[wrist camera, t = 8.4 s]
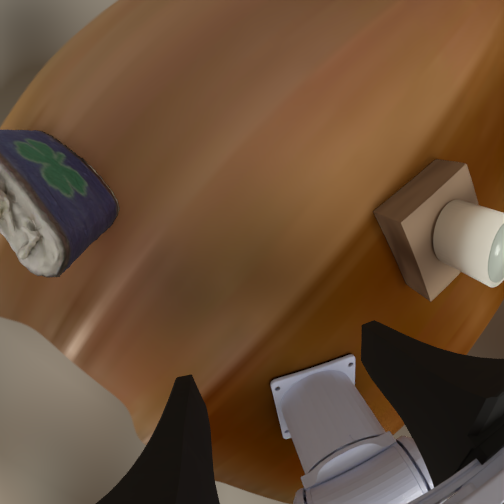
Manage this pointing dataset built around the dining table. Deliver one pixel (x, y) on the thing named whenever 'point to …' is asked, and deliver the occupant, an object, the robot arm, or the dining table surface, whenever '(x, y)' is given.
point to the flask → (50, 201)
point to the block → (424, 223)
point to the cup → (471, 241)
